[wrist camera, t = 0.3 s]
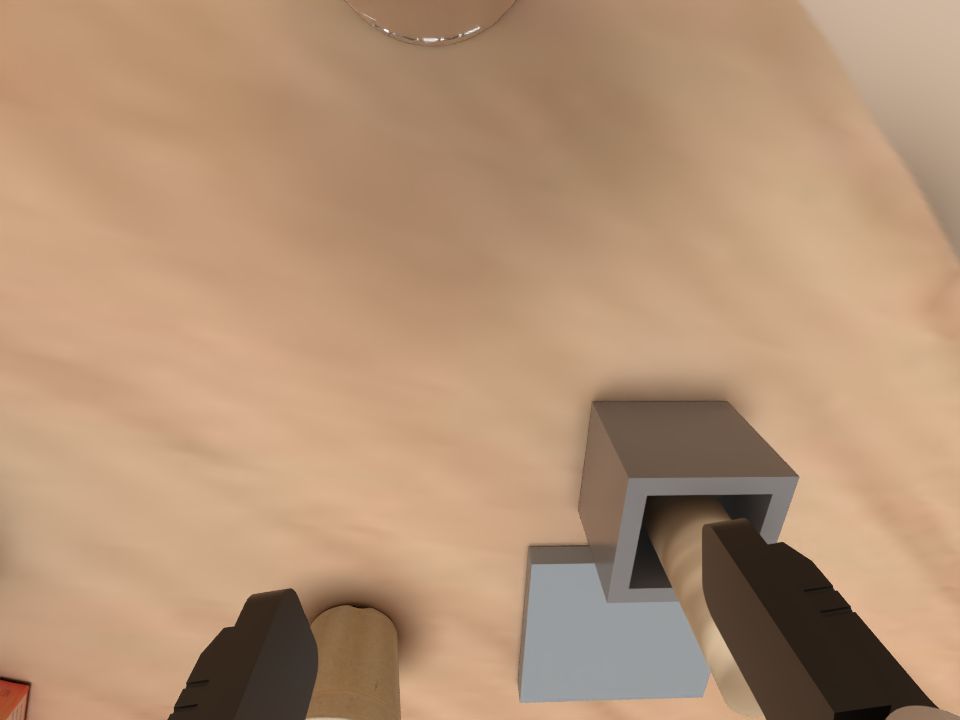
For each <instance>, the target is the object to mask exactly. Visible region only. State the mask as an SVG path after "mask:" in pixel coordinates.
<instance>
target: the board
mask: <svg viewBox="0 0 960 720" xmlns="http://www.w3.org/2000/svg"><path fill="white" fill-rule="evenodd" d="M710 673H711V670H710V668H709V666H708V664H707V662H706V659H705V657H704V655H703V653H702V651H701V649H700V646H699V644H698V642H697V640H696V638H695V636H694V633H693V631H692V629H691V627H690V625H689V623H688V620H687V618H686V616H685V614H684V612H683V609H682V607H681V605H680V603H679V602H635V603H607V602H606V598H605V595H604V592H603V589H602V586H601V582H600V579H599V576H598V573H597V570H596V566H595V563H594V560H593V557H592V553H591V550H590V547H589V546H553V547H529V551H528V563H527V575H526V588H525V600H524V612H523V625H522V637H521V649H520V661H519V674H518V690H519V699H520V703H529V702H563V701H596V700H629V699H662V698H696V697H703V695H704V691H705V688H706V685H707V682H708V679H709V676H710Z"/></svg>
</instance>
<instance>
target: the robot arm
mask: <svg viewBox="0 0 960 720" xmlns="http://www.w3.org/2000/svg"><path fill="white" fill-rule="evenodd" d="M345 1H346V2H347V3H348V4H349V5H350V6H351V7H352V8H353V9H354V10H355V11H356V13H357V14H358V15H359V16H360V17H361V18H362V19H363V20H365V21H366V22H368V23H369V24H371V25H372V26H374V27H375V28H376V29H378V30H379V31H381V32H382V33H384V34H386V35H388V36H391V37H393V38H396V39H398V40H401V41H403V42H406V43H411V44H418V45H424V46H438V45H449V44H454V43H457V42H460V41H463V40H466V39H469V38H471V37H474V36H476V35H477V34H479V33H480V32H482V31H484V30H485V29H487V28H488V27H490V26H491V25H493V24H494V23H495V22H496V21H497V20H498V19H499V18H500V17H501V16H502V15H503V14H504V13H505V12H506V11H507V10H508V9H509V8H510V7H511V6H512V5H513V3H514V2H515V0H345ZM702 587H703V593H704V597H705V601H706V604H707V607H708V610H709V612H710V615H711V617H712V619H713V621H714V623H715V625H716V626H717V628H718V630H719V632H720V634H721V636H722V638H723V639H724V641H725V643H726V645H727V647H728V649H729V651H730V653H731V654H732V656H733V658H734V660H735V662H736V664H737V666H738V667H739V669H740V671H741V673H742V675H743V677H744V679H745V681H746V682H747V684H748V686H749V688H750V690H751V692H752V694H753V695H754V697H755V699H756V701H757V703H758V705H759V707H760V709H761V710H762V712H763V714H764V716H765V718H766V720H960V717H959V716H957V715H954V714H952V713H950V712H947V711H944V710H940V709H939V708H938V707H937V706H936V705H935V704H934V703H933V702H932V701H931V700H930V699H929V698H928V697H927V696H926V695H925V694H924V692H923V691H922V690H921V689H920V688H919V686H918V685H917V684H916V683H915V682H914V681H913V679H912V678H911V677H910V676H909V675H908V673H907V672H906V671H905V670H904V669H903V668H902V666H901V665H900V664H899V663H898V662H897V661H896V659H895V658H894V657H893V656H892V655H891V653H890V652H889V651H888V650H887V649H886V648H885V646H884V645H883V644H882V643H881V642H880V641H879V639H878V638H877V637H876V636H875V635H874V633H873V632H872V631H871V630H870V629H869V628H868V626H867V625H866V624H865V623H864V622H863V621H862V619H861V618H860V617H859V616H858V615H857V613H856V612H852V610H851V606H850V605H849V604H848V603H847V602H846V601H845V599H844V598H843V597H842V596H841V595H840V593H839V592H838V591H835V590H834V589H833V585H832V584H831V583H830V582H829V581H828V579H827V578H826V577H825V576H824V575H823V573H822V572H821V571H820V570H819V569H818V568H817V566H816V565H815V564H814V563H813V562H812V561H811V560H810V559H808V558H807V557H805V556H803V555H802V554H800V553H799V552H797V551H796V550H794V549H793V548H791V547H790V546H788V545H787V544H785V543H784V542H780V543H773V544H767V543H766V542H765V540H764V539H763V538H762V536H761V535H760V534H759V533H758V531H757V530H756V529H755V527H754V526H753V525H752V524H751V523H750V522H749V521H748V520H747V519H745V518H740V519H734V520H728V521H722V522H715V523H709V524H704V525H703V528H702ZM317 672H318V648H317V644H316V640H315V638H314V635H313V633H312V630H311V628H310V625H309V623H308V620H307V618H306V616H305V613H304V611H303V608H302V606H301V603H300V601H299V598H298V596H297V594H296V592H295V591H294V590H293V589H291V588H290V589H283V590H277V591H270V592H264V593H258V594H253V595H251V596H250V597H249V598H248V599H247V601H246V603H245V605H244V607H243V609H242V611H241V613H240V616H239V618H238V620H237V622H236V624H235V626H234V627H227V628H223V630H222V631H221V632H220V633H219V634H218V635H217V636H216V638H215V639H214V640H213V641H212V642H211V643H210V644H209V646H208V647H207V648H206V649H205V650H204V651H203V652H202V653H201V655H200V657H199V659H198V661H197V663H196V665H195V667H194V669H193V671H192V673H191V675H190V677H189V679H188V681H187V683H186V685H187V686H186V689H183V690H182V692H181V694H180V696H179V698H178V700H177V702H176V704H175V706H174V713H173V714H170V716H169V718H168V720H305V719H306V715H307V712H308V708H309V704H310V700H311V697H312V693H313V689H314V685H315V682H316V678H317Z"/></svg>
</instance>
